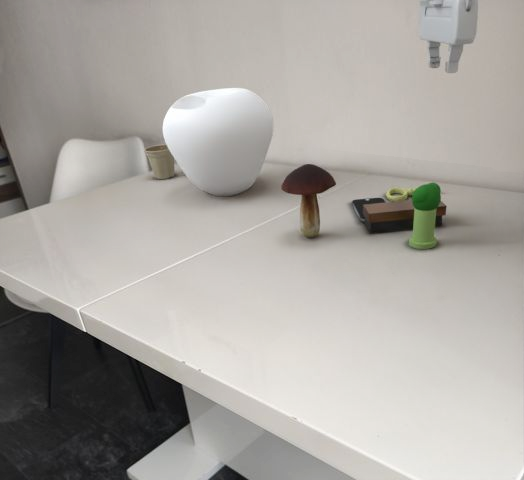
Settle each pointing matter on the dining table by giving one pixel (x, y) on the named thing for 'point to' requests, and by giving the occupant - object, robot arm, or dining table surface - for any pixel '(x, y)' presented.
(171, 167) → the flower pot
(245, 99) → the vase
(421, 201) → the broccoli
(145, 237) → the dining table surface
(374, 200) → the smartphone
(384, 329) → the dining table surface
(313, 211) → the decorative mushroom
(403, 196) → the key
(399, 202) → the brush
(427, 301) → the dining table surface
